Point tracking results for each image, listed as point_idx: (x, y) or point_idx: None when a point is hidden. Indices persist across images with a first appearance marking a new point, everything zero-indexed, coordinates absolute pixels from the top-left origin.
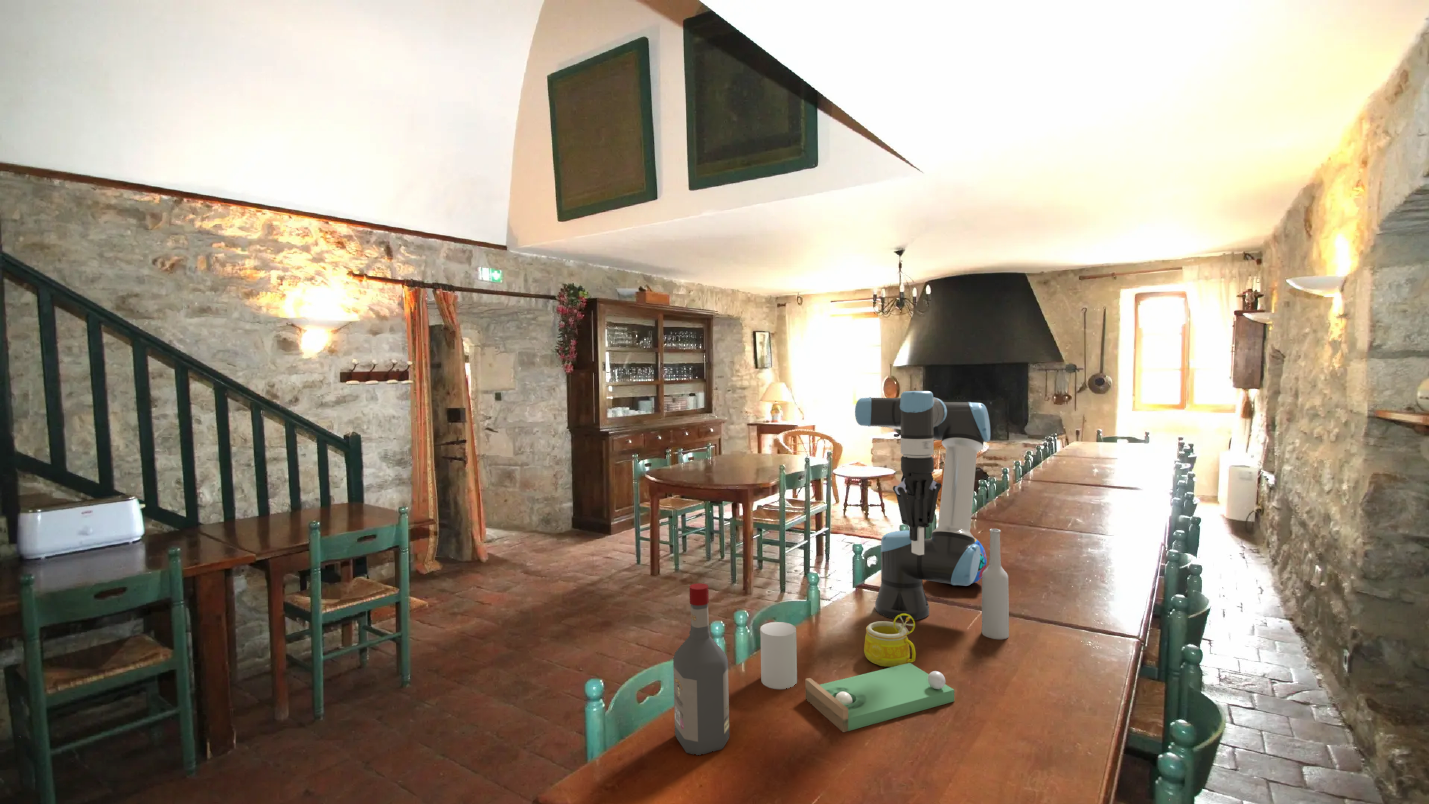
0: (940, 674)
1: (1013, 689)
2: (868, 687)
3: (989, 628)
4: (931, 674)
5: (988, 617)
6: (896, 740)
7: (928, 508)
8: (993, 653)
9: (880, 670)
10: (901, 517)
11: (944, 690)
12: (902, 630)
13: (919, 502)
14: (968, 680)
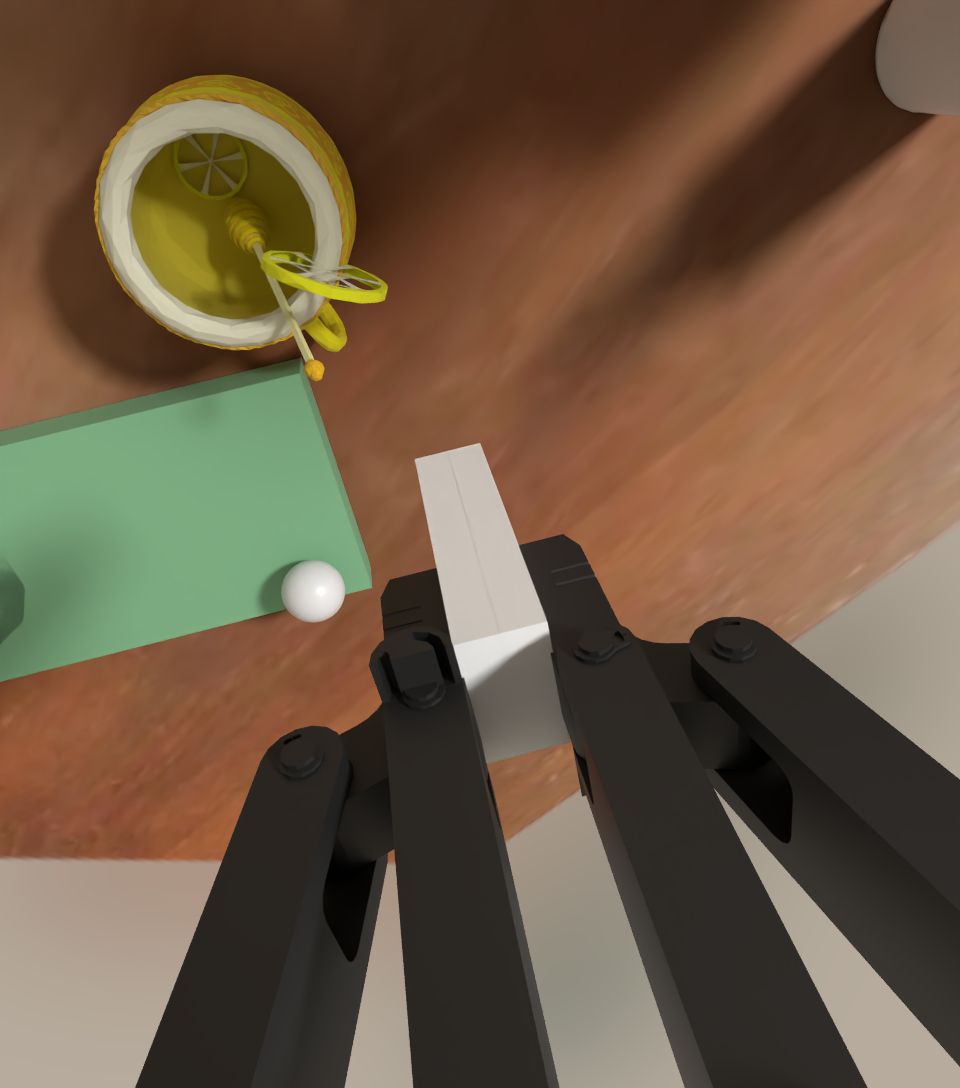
0: (322, 617)
1: (604, 525)
2: (50, 537)
3: (906, 77)
4: (292, 606)
5: (946, 70)
6: (102, 715)
7: (837, 882)
8: (755, 251)
9: (138, 417)
10: (233, 854)
11: None
12: (305, 292)
13: (693, 1073)
14: (500, 448)
